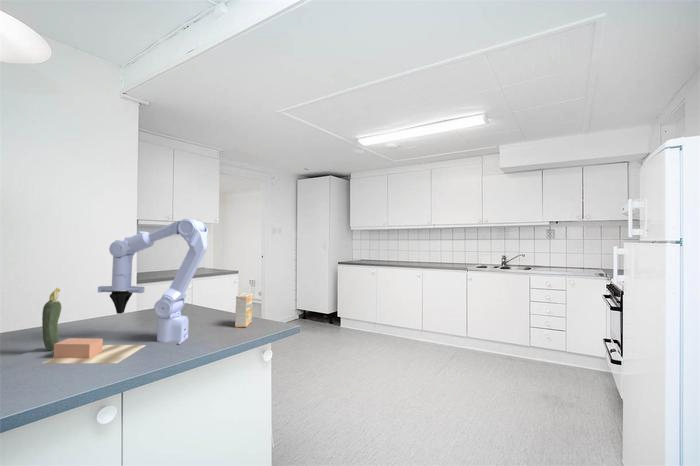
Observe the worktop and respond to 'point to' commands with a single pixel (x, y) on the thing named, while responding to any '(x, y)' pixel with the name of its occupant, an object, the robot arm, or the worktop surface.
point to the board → (103, 355)
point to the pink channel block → (78, 348)
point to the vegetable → (51, 320)
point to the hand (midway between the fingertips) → (120, 313)
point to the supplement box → (243, 309)
